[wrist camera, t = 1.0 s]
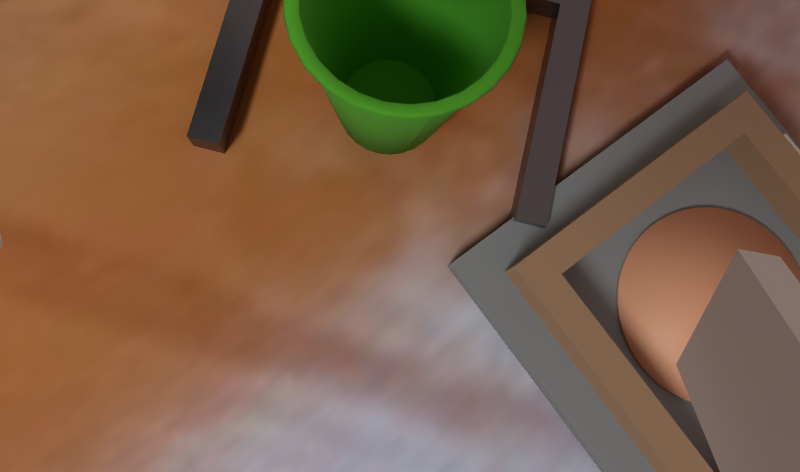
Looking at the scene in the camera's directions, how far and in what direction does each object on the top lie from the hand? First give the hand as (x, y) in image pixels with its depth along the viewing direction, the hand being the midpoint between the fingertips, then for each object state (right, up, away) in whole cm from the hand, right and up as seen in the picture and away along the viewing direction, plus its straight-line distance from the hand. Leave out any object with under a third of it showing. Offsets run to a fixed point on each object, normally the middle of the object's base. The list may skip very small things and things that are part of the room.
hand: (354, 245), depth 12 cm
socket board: (+16, -3, +23) cm, 28 cm away
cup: (0, +7, +24) cm, 24 cm away
